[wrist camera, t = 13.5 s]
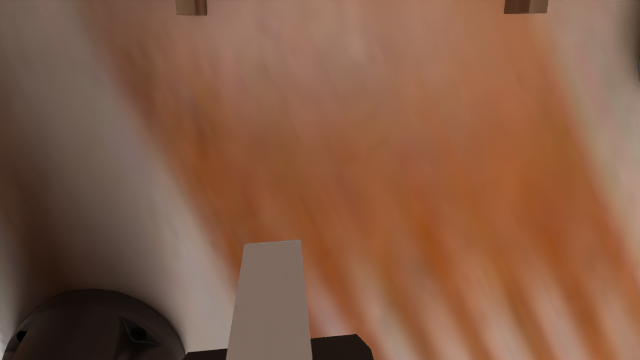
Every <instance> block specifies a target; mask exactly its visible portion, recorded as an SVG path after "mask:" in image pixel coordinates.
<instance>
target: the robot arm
mask: <svg viewBox="0 0 640 360" xmlns="http://www.w3.org/2000/svg"><path fill="white" fill-rule="evenodd" d="M2 360H374V359H373V355H372V352H371V349H370V348H369V347H368V346H367V345H366V344H365V343H364V341H363V340H362V339H361V338H360V337H359V336H358V335H357V334H353V335H342V336H332V337H322V338H312V339H310V330H309V320H308V310H307V300H306V289H305V279H304V269H303V259H302V249H301V239H298V240H287V241H275V242H263V243H252V244H245V245H244V251H243V258H242V264H241V270H240V276H239V282H238V288H237V295H236V301H235V307H234V313H233V319H232V325H231V332H230V338H229V344H228V349H218V350H208V351H198V352H188V353H187V354H186V356H185V355H184V350H183V347H182V344H181V341H180V339H179V337H178V335H177V334H176V332H175V331H174V329H173V328H172V326H171V325H170V324H169V323H168V322H167V320H166V319H165V318H164V317H162V316H161V315H160V314H159V313H158V312H157V311H155V310H154V309H153V308H151V307H150V306H148V305H146V304H145V303H143V302H141V301H139V300H137V299H135V298H132V297H130V296H127V295H124V294H121V293H117V292H112V291H106V290H78V291H72V292H68V293H64V294H61V295H58V296H56V297H53V298H51V299H49V300H47V301H46V302H44V303H42V304H41V305H40V306H38V307H37V308H36V309H35V310H34V311H33V312H32V313H31V314H30V315H29V316H28V317H27V318H26V319H25V321H24V322H23V323H22V324H21V325H20V326H19V327H18V328H17V330H16V331H15V332H14V334H13V336H12V337H11V339H10V341H9V343H8V345H7V347H6V350H5V353H4V355H3V358H2Z"/></svg>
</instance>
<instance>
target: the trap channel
mask: <svg viewBox="0 0 640 360" xmlns="http://www.w3.org/2000/svg"><path fill="white" fill-rule="evenodd" d="M547 6H548V0H506V1H505V10H504V14H529V13H547ZM176 11H177V15H207V9H206V0H176Z"/></svg>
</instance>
